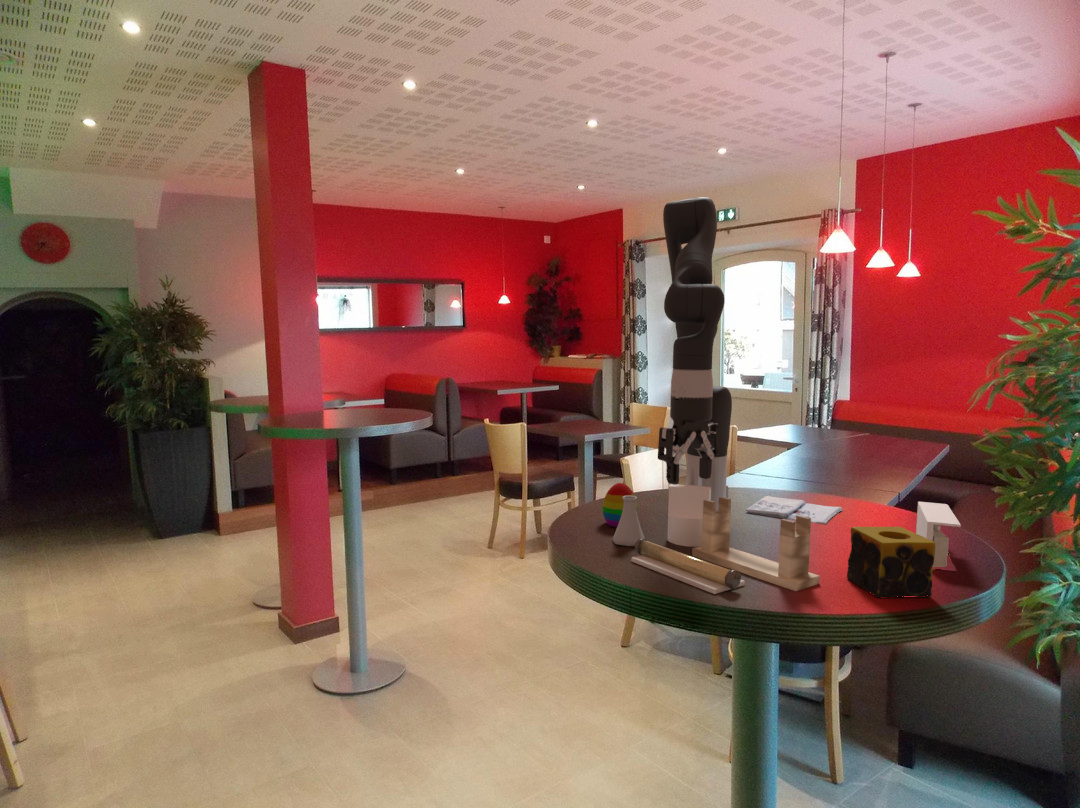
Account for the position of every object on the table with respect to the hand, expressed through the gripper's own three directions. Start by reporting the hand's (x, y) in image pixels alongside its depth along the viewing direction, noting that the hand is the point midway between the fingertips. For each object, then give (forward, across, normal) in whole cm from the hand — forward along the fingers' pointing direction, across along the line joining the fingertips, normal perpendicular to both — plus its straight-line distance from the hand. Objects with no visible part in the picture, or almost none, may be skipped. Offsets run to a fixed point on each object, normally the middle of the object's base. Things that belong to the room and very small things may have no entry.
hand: (689, 480), depth 127 cm
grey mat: (+18, 0, 0) cm, 18 cm away
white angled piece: (+18, -51, +21) cm, 58 cm away
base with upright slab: (+18, -16, -14) cm, 28 cm away
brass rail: (+17, 0, 0) cm, 17 cm away
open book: (+19, -59, -17) cm, 65 cm away
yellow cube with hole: (+18, -24, +26) cm, 39 cm away
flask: (+18, -4, -20) cm, 28 cm away
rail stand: (+18, -12, +6) cm, 22 cm away
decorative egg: (+18, -12, -32) cm, 39 cm away
